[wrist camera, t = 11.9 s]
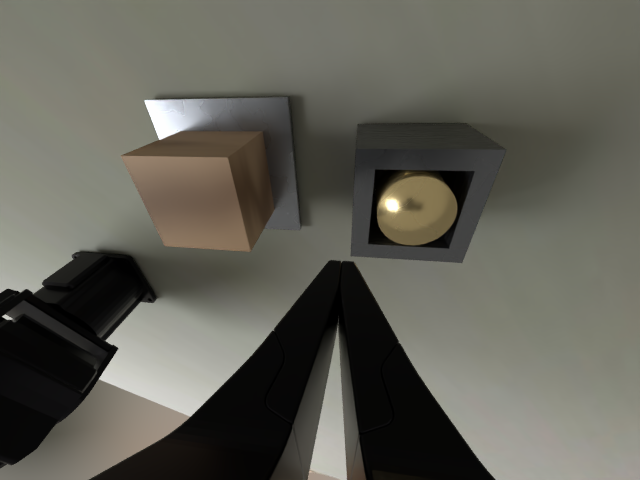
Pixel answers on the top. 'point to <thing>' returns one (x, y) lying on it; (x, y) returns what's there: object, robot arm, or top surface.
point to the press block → (423, 154)
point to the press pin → (413, 205)
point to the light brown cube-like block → (205, 188)
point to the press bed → (243, 116)
